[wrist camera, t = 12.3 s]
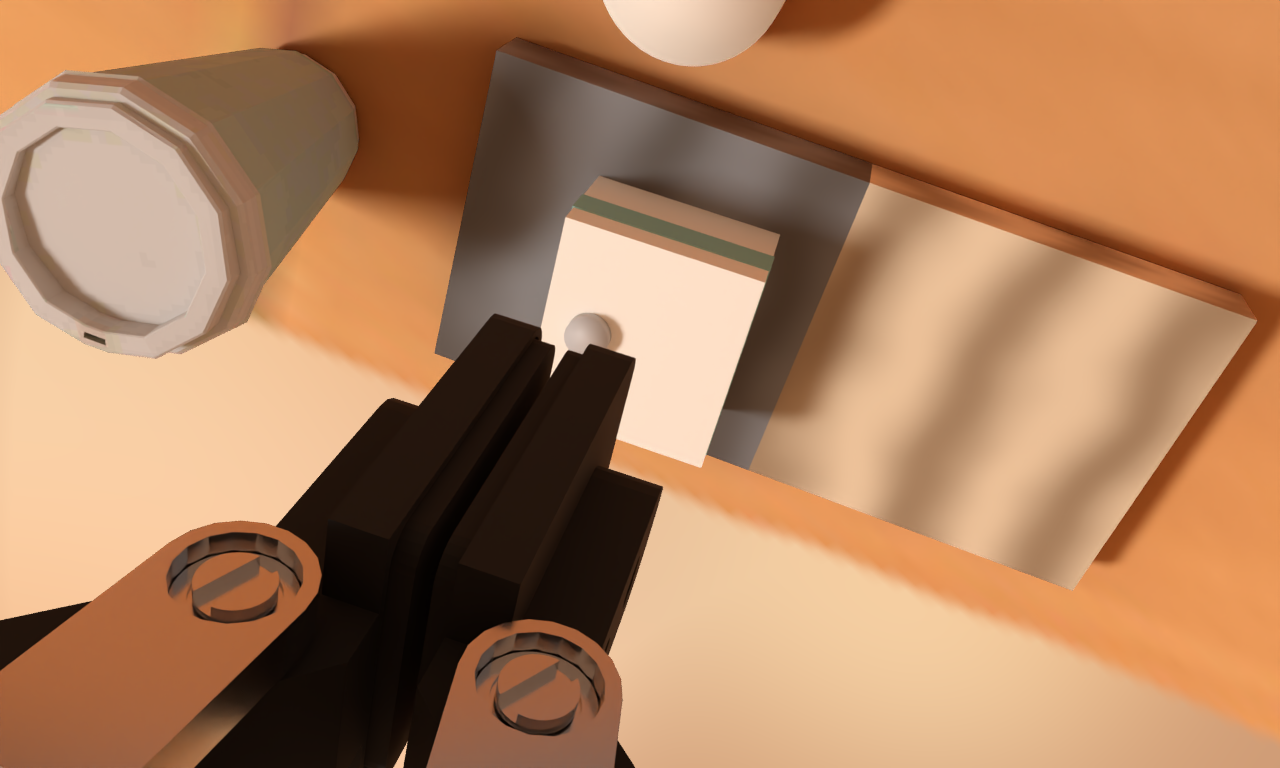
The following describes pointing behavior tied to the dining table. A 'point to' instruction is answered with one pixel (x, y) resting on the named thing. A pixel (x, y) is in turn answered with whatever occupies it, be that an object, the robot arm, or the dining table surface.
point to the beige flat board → (869, 317)
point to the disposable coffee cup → (167, 192)
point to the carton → (659, 306)
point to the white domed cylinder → (693, 27)
